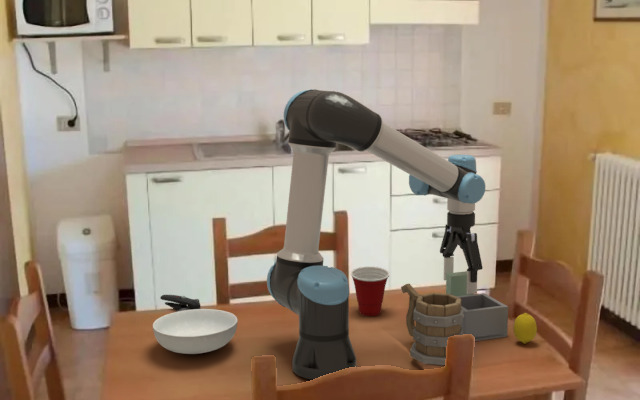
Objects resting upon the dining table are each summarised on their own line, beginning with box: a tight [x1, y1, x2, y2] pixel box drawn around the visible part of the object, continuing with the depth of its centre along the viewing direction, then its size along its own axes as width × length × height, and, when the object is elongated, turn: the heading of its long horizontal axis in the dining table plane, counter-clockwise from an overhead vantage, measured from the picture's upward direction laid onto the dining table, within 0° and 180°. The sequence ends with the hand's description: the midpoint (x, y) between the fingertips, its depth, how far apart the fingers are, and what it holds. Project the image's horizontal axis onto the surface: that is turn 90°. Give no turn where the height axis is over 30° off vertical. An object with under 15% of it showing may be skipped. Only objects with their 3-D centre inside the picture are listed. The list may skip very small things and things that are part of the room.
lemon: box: [513, 312, 538, 345], centre depth 192 cm, size 6×6×8 cm
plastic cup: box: [350, 266, 390, 317], centre depth 216 cm, size 11×11×12 cm
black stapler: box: [160, 294, 202, 312], centre depth 220 cm, size 18×7×6 cm, turn 42°
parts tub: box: [456, 292, 509, 342], centre depth 201 cm, size 12×12×8 cm
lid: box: [445, 270, 475, 296], centre depth 217 cm, size 13×13×11 cm
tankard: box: [400, 283, 464, 367], centre depth 188 cm, size 20×13×15 cm, turn 30°
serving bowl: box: [152, 308, 239, 355], centre depth 193 cm, size 21×21×7 cm
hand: (459, 286), depth 217 cm, fingers open, 13 cm apart
